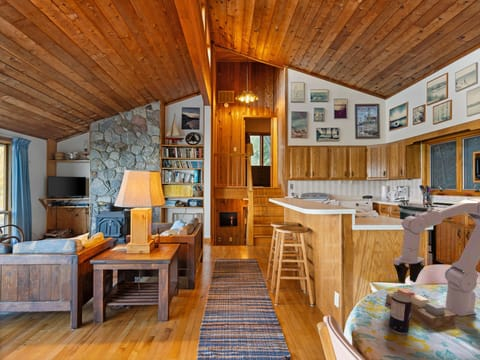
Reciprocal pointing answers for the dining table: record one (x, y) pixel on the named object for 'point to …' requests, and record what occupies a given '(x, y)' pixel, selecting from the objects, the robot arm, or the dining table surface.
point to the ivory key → (419, 300)
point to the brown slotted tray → (428, 315)
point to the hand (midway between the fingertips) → (407, 281)
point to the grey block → (435, 308)
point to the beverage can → (400, 312)
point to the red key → (406, 291)
